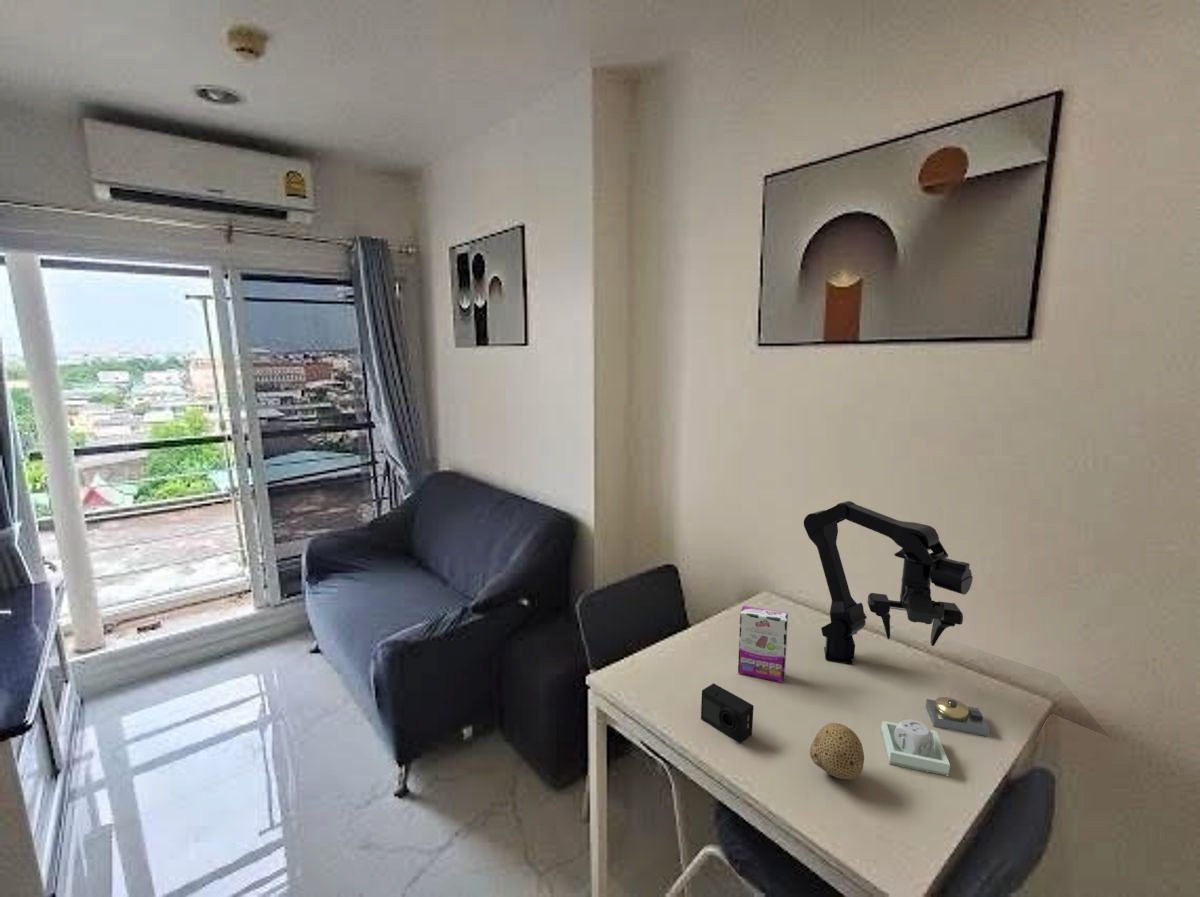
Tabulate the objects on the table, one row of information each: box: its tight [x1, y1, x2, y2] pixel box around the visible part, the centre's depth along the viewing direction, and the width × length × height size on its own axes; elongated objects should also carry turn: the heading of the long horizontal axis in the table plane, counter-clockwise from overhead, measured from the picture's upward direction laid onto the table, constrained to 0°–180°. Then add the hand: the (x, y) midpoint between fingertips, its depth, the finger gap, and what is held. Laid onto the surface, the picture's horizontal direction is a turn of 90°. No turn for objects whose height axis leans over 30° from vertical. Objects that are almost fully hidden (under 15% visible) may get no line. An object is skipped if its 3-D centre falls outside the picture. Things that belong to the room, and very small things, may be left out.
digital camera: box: [700, 683, 755, 744], centre depth 115 cm, size 10×5×7 cm, turn 41°
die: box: [894, 718, 934, 757], centre depth 108 cm, size 5×5×5 cm
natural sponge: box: [809, 722, 865, 780], centre depth 101 cm, size 9×9×10 cm
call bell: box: [925, 696, 990, 737], centre depth 117 cm, size 10×7×4 cm
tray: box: [880, 720, 951, 776], centre depth 108 cm, size 10×10×2 cm
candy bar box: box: [737, 605, 789, 684], centre depth 134 cm, size 11×5×16 cm, turn 68°
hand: (909, 641), depth 128 cm, fingers open, 9 cm apart
